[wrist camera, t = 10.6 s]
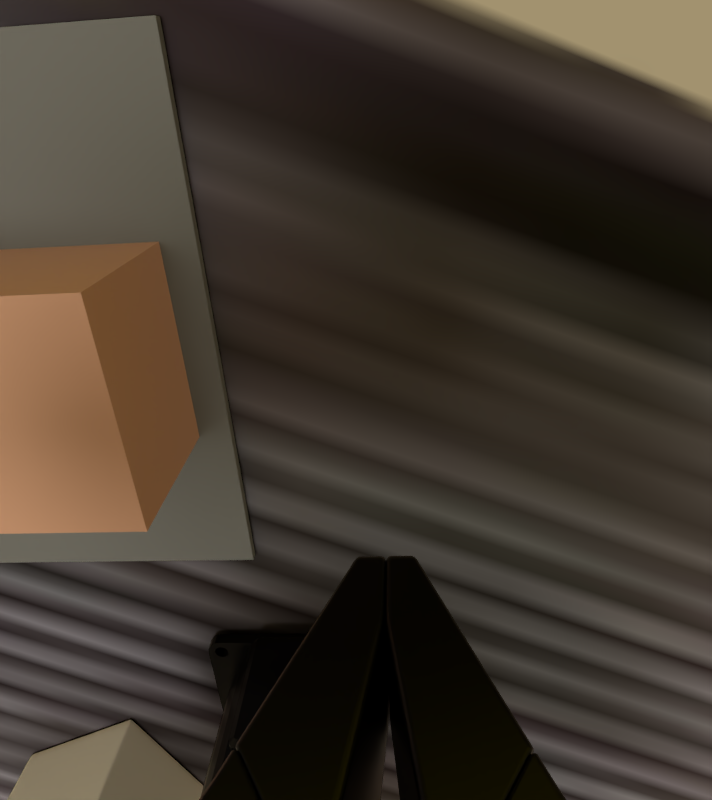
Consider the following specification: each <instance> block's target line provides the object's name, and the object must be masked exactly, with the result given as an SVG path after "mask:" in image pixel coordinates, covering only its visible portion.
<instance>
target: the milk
mask: <svg viewBox="0 0 712 800" xmlns="http://www.w3.org/2000/svg"><path fill="white" fill-rule="evenodd" d="M202 790H203V785H202V784H201V783H200V782H199V781H198V780H197V779H195V778H194V777H193V776H192V775H191V774H190V773H189V772H188V771H187V770H186V769H185V768H184V767H182V766H181V765H180V764H179V763H178V762H177V761H176V760H175V759H174V758H173V757H172V756H170V755H169V754H168V753H167V752H166V751H165V750H164V749H163V748H162V747H161V746H160V745H159V744H157V743H156V742H155V741H154V740H153V739H152V738H151V737H150V736H149V735H148V734H147V733H145V732H144V731H143V730H142V729H141V728H140V727H139V726H138V725H137V724H136V723H135V722H133V721H132V720H128V721H125V722H122V723H119V724H117V725H114V726H111V727H108V728H105V729H103V730H100V731H97V732H94V733H91V734H89V735H86V736H83V737H80V738H77V739H75V740H72V741H69V742H66V743H63V744H61V745H58V746H55V747H52V748H49V749H47V750H44V751H41V752H38V753H35V754H33V755H32V756H31V757H30V759H29V761H28V762H27V764H26V766H25V768H24V770H23V772H22V774H21V775H20V777H19V779H18V781H17V783H16V785H15V787H14V788H13V790H12V792H11V794H10V796H9V798H8V800H199V799H200V797H201V793H202Z"/></svg>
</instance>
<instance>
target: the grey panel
mask: <svg viewBox="0 0 712 800" xmlns="http://www.w3.org/2000/svg"><path fill="white" fill-rule="evenodd" d="M142 242H159V245H160V249H161V254H162V259H163V264H164V269H165V273H166V278H167V283H168V288H169V293H170V297H171V302H172V307H173V312H174V317H175V321H176V326H177V331H178V336H179V341H180V345H181V350H182V355H183V360H184V365H185V369H186V374H187V379H188V384H189V389H190V393H191V398H192V403H193V408H194V413H195V417H196V422H197V427H198V432H199V439H198V440H197V442H196V444H195V446H194V448H193V450H192V451H191V453H190V455H189V457H188V459H187V460H186V462H185V464H184V466H183V468H182V469H181V471H180V473H179V475H178V477H177V479H176V480H175V482H174V484H173V486H172V488H171V489H170V491H169V493H168V495H167V497H166V499H165V500H164V502H163V504H162V506H161V508H160V509H159V511H158V513H157V515H156V517H155V518H154V520H153V522H152V524H151V526H150V528H149V529H148V531H147V532H93V533H22V534H0V563H5V562H100V561H194V560H254V556H255V550H254V544H253V539H252V533H251V527H250V522H249V516H248V510H247V505H246V499H245V493H244V488H243V482H242V477H241V471H240V465H239V460H238V454H237V448H236V443H235V437H234V431H233V426H232V420H231V415H230V409H229V403H228V398H227V392H226V386H225V381H224V375H223V369H222V364H221V358H220V352H219V347H218V341H217V336H216V330H215V324H214V319H213V313H212V307H211V302H210V296H209V290H208V285H207V279H206V273H205V268H204V262H203V257H202V251H201V245H200V240H199V234H198V228H197V223H196V217H195V211H194V206H193V200H192V194H191V189H190V183H189V178H188V172H187V166H186V161H185V155H184V149H183V144H182V138H181V132H180V127H179V121H178V115H177V110H176V104H175V99H174V93H173V87H172V82H171V76H170V70H169V65H168V59H167V53H166V48H165V42H164V36H163V31H162V25H161V20H160V17H159V16H156V15H153V16H140V17H127V18H114V19H102V20H89V21H76V22H63V23H51V24H38V25H25V26H12V27H0V250H3V249H22V248H42V247H62V246H82V245H102V244H122V243H142Z"/></svg>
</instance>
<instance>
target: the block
mask: <svg viewBox="0 0 712 800" xmlns="http://www.w3.org/2000/svg"><path fill="white" fill-rule="evenodd" d="M198 439H199V432H198V427H197V422H196V417H195V413H194V408H193V403H192V398H191V393H190V389H189V384H188V379H187V374H186V369H185V365H184V360H183V355H182V350H181V345H180V341H179V336H178V331H177V326H176V321H175V317H174V312H173V307H172V302H171V297H170V293H169V288H168V283H167V278H166V273H165V269H164V264H163V259H162V254H161V249H160V245H159V242H142V243H122V244H102V245H82V246H62V247H42V248H22V249H3V250H0V534H22V533H93V532H147V531H148V529H149V528H150V526H151V524H152V522H153V520H154V518H155V517H156V515H157V513H158V511H159V509H160V508H161V506H162V504H163V502H164V500H165V499H166V497H167V495H168V493H169V491H170V489H171V488H172V486H173V484H174V482H175V480H176V479H177V477H178V475H179V473H180V471H181V469H182V468H183V466H184V464H185V462H186V460H187V459H188V457H189V455H190V453H191V451H192V450H193V448H194V446H195V444H196V442H197V440H198Z"/></svg>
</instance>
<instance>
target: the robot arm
mask: <svg viewBox="0 0 712 800" xmlns="http://www.w3.org/2000/svg"><path fill="white" fill-rule="evenodd" d="M209 655H210V659H211V663H212V667H213V671H214V675H215V679H216V683H217V687H218V692H219V696H220V700H221V704H222V708H223V715H222V719H221V723H220V726H219V730H218V734H217V737H216V741H215V745H214V749H213V752H212V756H211V760H210V763H209V767H208V771H207V775H206V778H205V782H204V786H203V790H202V793H201V797H200V799H199V800H381V790H382V781H383V772H384V762H385V753H386V744H387V734H388V721H389V704H390V721H391V731H392V740H393V747H394V755H395V763H396V771H397V778H398V786H399V794H400V800H566V799H565V797H564V796H563V794H562V793H561V791H560V790H559V788H558V787H557V785H556V784H555V782H554V780H553V779H552V777H551V775H550V774H549V772H548V771H547V769H546V767H545V766H544V764H543V762H542V761H541V759H540V758H539V756H538V755H537V754H536V753H533V747H532V745H531V744H530V742H529V740H528V739H527V737H526V736H525V734H524V732H523V731H522V729H521V727H520V726H519V724H518V723H517V721H516V719H515V718H514V716H513V714H512V713H511V711H510V710H509V708H508V706H507V705H506V703H505V701H504V700H503V698H502V697H501V695H500V693H499V692H498V690H497V689H496V687H495V685H494V684H493V682H492V680H491V679H490V677H489V676H488V674H487V672H486V671H485V669H484V667H483V666H482V664H481V663H480V661H479V659H478V658H477V656H476V654H475V653H474V651H473V650H472V648H471V646H470V645H469V643H468V642H467V640H466V638H465V637H464V635H463V633H462V632H461V630H460V629H459V627H458V625H457V624H456V622H455V620H454V619H453V617H452V616H451V614H450V612H449V611H448V609H447V608H446V606H445V604H444V603H443V601H442V599H441V598H440V596H439V595H438V593H437V591H436V590H435V588H434V586H433V585H432V583H431V582H430V580H429V578H428V577H427V575H426V573H425V572H424V570H423V569H422V567H421V565H420V564H419V562H418V561H417V559H416V558H415V557H413V556H390V557H388V558H387V560H385V558H384V557H382V556H362V557H358V558H357V559H356V560H355V561H354V562H353V564H352V566H351V567H350V569H349V570H348V572H347V573H346V575H345V576H344V578H343V579H342V581H341V583H340V584H339V586H338V587H337V589H336V590H335V592H334V593H333V595H332V596H331V598H330V600H329V601H328V603H327V604H326V606H325V607H324V609H323V610H322V612H321V614H320V615H319V617H318V618H317V620H316V621H315V623H314V624H313V626H312V627H311V629H310V631H309V632H308V634H220V635H216V636H215V637H213V639H212V641H211V644H210V647H209Z"/></svg>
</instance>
